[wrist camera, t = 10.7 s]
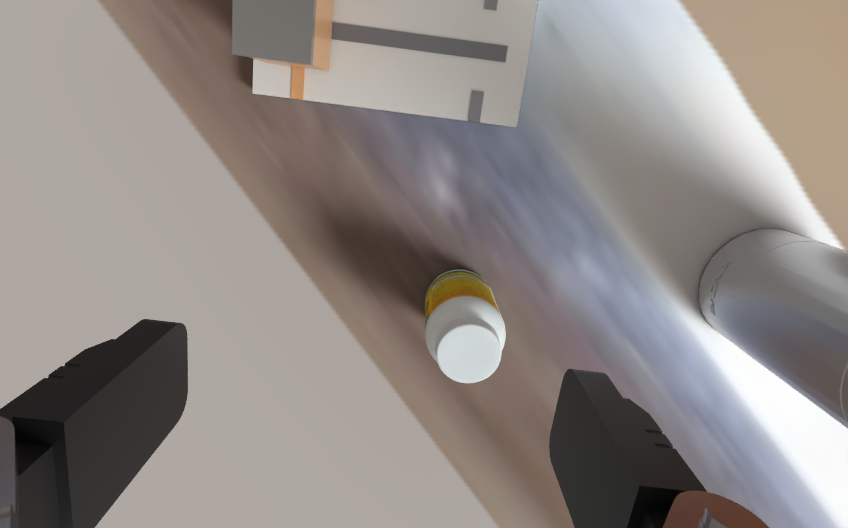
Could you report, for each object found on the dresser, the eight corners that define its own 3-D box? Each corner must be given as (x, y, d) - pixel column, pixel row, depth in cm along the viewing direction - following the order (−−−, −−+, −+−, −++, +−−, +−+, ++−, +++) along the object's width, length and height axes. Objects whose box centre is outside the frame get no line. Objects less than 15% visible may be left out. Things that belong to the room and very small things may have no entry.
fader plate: (536, -13, 34) (542, -19, 32) (513, 126, 36) (517, 127, 35) (263, -51, 33) (255, -59, 31) (259, 94, 36) (251, 93, 34)
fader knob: (336, -15, 32) (316, -44, 26) (330, 73, 34) (310, 64, 27) (269, -24, 32) (233, -56, 26) (266, 64, 33) (231, 54, 27)
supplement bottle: (501, 317, 41) (525, 378, 31) (438, 340, 41) (443, 406, 32) (479, 257, 39) (496, 301, 30) (414, 281, 40) (411, 332, 30)
